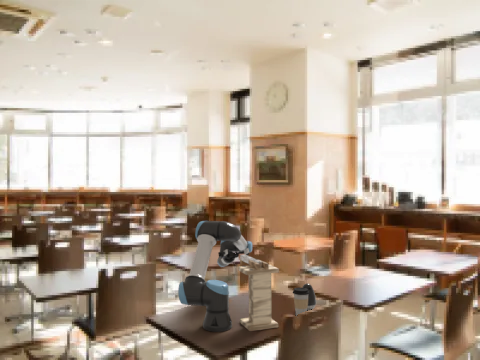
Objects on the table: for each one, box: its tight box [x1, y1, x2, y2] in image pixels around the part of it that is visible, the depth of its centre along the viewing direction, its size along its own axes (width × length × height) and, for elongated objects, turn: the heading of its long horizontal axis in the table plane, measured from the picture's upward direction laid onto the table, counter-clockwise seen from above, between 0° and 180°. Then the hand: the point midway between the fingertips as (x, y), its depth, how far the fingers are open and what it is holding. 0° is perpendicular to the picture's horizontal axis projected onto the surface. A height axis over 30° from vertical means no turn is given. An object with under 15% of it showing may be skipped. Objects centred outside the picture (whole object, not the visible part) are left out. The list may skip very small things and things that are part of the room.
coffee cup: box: [292, 287, 309, 317], centre depth 229 cm, size 9×9×15 cm
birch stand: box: [237, 259, 280, 332], centre depth 214 cm, size 14×18×33 cm
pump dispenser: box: [301, 283, 317, 311], centre depth 242 cm, size 10×10×15 cm
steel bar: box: [238, 254, 262, 268], centre depth 227 cm, size 28×3×3 cm, turn 20°
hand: (237, 250), depth 248 cm, fingers open, 13 cm apart
